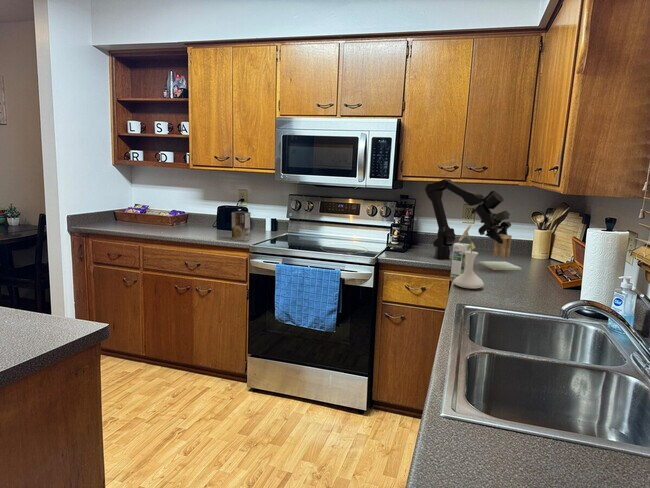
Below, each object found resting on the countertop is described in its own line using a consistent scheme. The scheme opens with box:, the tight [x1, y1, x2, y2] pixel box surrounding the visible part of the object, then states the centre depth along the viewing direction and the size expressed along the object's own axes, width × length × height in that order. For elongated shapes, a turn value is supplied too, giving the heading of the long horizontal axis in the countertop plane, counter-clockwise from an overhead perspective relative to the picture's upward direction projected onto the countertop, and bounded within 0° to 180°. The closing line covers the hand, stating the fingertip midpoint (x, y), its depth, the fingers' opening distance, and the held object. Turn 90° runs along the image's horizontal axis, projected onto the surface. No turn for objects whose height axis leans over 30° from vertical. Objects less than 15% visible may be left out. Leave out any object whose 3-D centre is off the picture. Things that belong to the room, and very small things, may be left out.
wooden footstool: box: [492, 234, 512, 259], centre depth 207 cm, size 5×5×10 cm
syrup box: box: [450, 242, 471, 279], centre depth 193 cm, size 6×6×14 cm
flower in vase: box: [453, 223, 485, 290], centre depth 176 cm, size 13×11×25 cm
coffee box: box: [231, 211, 252, 242], centre depth 265 cm, size 9×6×16 cm
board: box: [478, 260, 523, 271], centre depth 220 cm, size 14×14×1 cm
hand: (505, 243), depth 206 cm, fingers closed on wooden footstool, 5 cm apart
